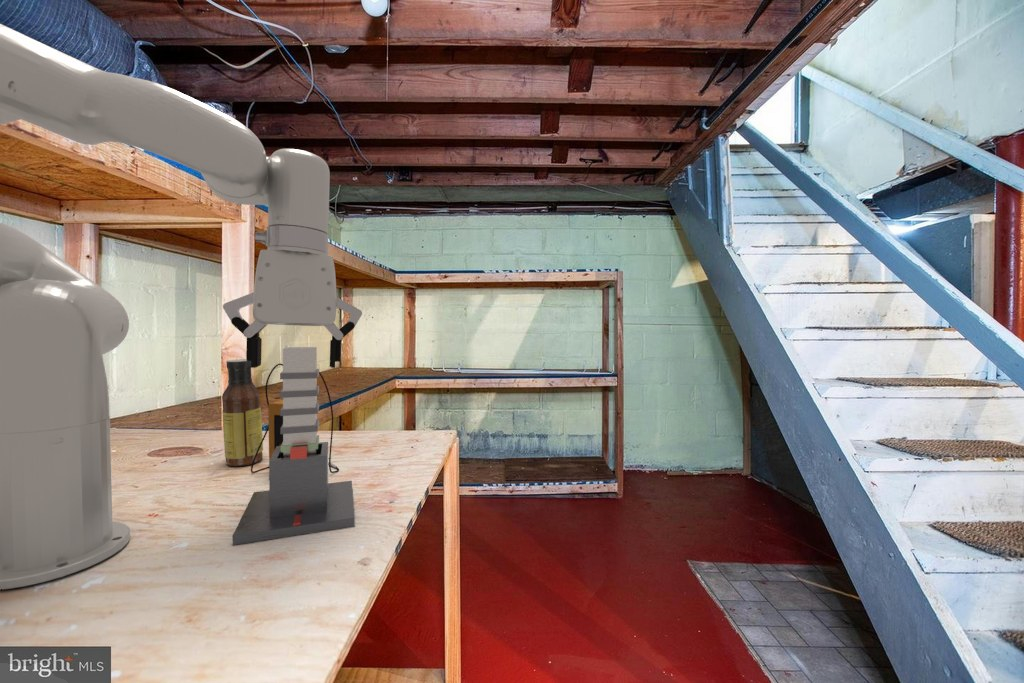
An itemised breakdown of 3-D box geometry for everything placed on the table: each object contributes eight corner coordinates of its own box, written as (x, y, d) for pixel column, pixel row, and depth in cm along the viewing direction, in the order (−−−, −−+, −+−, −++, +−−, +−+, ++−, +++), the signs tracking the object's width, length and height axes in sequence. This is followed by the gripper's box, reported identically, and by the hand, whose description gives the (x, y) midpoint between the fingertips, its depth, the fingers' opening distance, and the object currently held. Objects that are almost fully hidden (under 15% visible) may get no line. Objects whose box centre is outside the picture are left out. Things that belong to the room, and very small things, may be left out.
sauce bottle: (261, 455, 85) (260, 357, 84) (265, 463, 80) (264, 360, 79) (222, 460, 81) (220, 359, 80) (223, 470, 76) (222, 361, 75)
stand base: (232, 545, 51) (231, 461, 51) (254, 499, 64) (253, 432, 64) (354, 526, 57) (354, 450, 56) (351, 487, 69) (351, 425, 69)
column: (280, 466, 57) (279, 349, 56) (284, 456, 61) (284, 347, 61) (317, 462, 59) (317, 348, 58) (319, 452, 63) (319, 346, 62)
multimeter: (354, 461, 83) (354, 360, 82) (327, 480, 73) (326, 365, 72) (284, 457, 84) (283, 358, 83) (248, 475, 74) (247, 363, 73)
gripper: (217, 231, 52) (215, 369, 52) (365, 247, 58) (361, 369, 59) (232, 242, 59) (229, 363, 59) (362, 255, 65) (359, 364, 66)
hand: (295, 366), depth 59 cm, fingers open, 9 cm apart
